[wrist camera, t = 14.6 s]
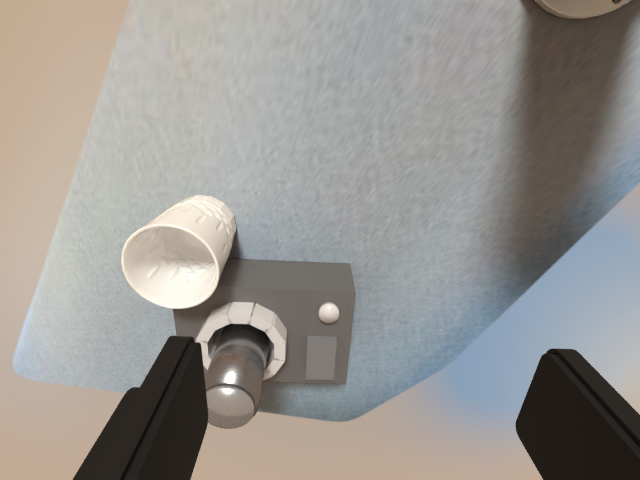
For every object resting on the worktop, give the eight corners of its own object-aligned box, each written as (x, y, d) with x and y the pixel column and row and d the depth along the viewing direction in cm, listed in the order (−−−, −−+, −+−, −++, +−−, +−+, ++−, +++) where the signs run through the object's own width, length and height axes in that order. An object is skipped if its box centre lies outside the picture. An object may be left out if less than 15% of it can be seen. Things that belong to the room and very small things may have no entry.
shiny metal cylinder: (236, 308, 35) (212, 376, 27) (279, 331, 36) (268, 403, 28) (213, 341, 37) (184, 416, 29) (255, 362, 38) (238, 439, 30)
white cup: (211, 270, 40) (181, 324, 31) (153, 224, 38) (101, 269, 29) (257, 224, 38) (238, 268, 29) (197, 173, 36) (157, 203, 27)
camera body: (350, 263, 40) (357, 303, 33) (341, 347, 45) (347, 398, 38) (189, 257, 40) (161, 296, 32) (199, 342, 44) (176, 393, 37)
